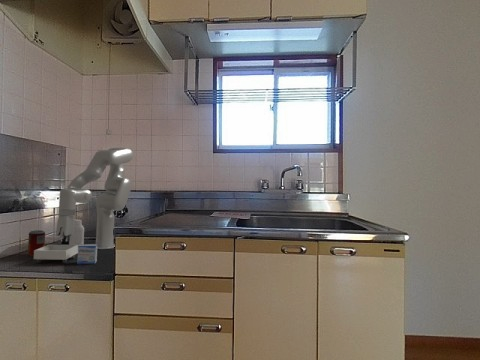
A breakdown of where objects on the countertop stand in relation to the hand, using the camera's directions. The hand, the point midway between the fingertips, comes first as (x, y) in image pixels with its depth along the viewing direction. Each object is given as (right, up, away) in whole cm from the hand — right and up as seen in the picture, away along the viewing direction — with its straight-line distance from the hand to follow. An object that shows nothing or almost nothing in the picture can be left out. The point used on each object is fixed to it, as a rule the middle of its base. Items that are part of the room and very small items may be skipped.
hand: (65, 248), depth 162 cm
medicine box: (+16, -5, -10) cm, 20 cm away
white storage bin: (+1, -4, -9) cm, 10 cm away
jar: (-10, -4, +26) cm, 28 cm away
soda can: (-15, -3, +1) cm, 16 cm away
